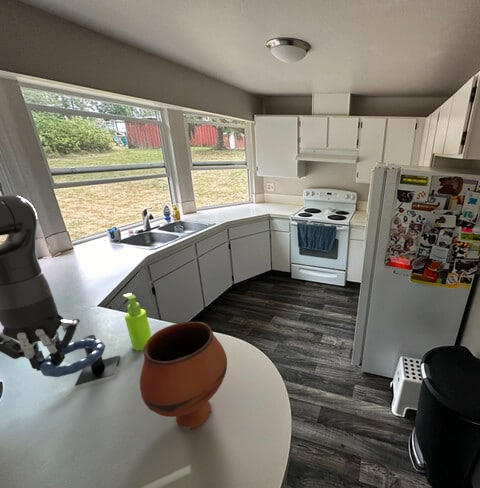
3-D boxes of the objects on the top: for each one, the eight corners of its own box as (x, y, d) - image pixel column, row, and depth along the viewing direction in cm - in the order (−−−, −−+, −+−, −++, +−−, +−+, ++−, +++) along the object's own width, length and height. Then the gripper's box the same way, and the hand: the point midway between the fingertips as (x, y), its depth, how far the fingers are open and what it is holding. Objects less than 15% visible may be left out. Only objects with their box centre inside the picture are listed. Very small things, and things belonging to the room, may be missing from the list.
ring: (31, 385, 50) (28, 378, 50) (54, 351, 59) (52, 344, 58) (98, 369, 55) (95, 361, 54) (110, 339, 64) (108, 332, 63)
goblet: (215, 454, 58) (202, 372, 50) (132, 453, 58) (105, 370, 50) (240, 383, 76) (233, 315, 68) (177, 383, 76) (162, 313, 68)
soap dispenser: (146, 335, 95) (135, 289, 88) (155, 342, 91) (145, 295, 85) (128, 345, 90) (115, 296, 83) (137, 352, 87) (124, 303, 80)
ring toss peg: (75, 388, 73) (61, 353, 69) (85, 366, 80) (73, 333, 76) (114, 377, 77) (103, 343, 73) (120, 357, 85) (111, 325, 80)
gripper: (76, 283, 56) (96, 345, 61) (-16, 295, 50) (15, 363, 55) (62, 299, 49) (85, 367, 55) (-46, 316, 43) (-7, 390, 49)
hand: (50, 365), depth 55 cm, fingers closed on ring, 2 cm apart
